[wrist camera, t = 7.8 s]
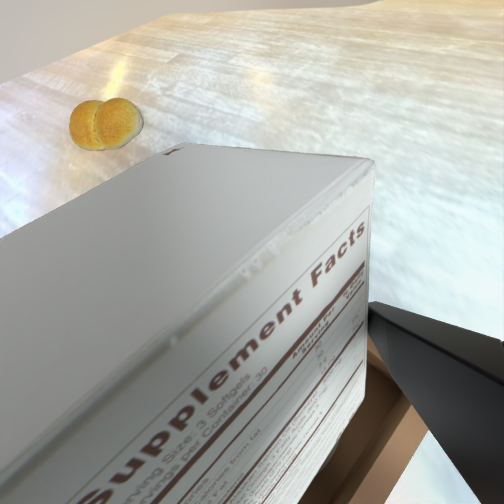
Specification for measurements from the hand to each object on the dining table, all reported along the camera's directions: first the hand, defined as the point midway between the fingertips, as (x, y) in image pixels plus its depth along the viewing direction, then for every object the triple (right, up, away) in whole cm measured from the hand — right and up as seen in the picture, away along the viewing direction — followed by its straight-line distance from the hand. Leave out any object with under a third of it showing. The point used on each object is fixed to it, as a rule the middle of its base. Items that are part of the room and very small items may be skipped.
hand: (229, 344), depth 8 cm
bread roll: (-18, +19, +25) cm, 36 cm away
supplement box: (+2, -5, +5) cm, 7 cm away
